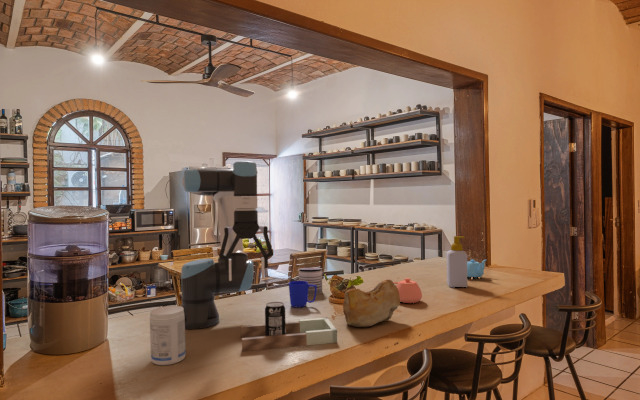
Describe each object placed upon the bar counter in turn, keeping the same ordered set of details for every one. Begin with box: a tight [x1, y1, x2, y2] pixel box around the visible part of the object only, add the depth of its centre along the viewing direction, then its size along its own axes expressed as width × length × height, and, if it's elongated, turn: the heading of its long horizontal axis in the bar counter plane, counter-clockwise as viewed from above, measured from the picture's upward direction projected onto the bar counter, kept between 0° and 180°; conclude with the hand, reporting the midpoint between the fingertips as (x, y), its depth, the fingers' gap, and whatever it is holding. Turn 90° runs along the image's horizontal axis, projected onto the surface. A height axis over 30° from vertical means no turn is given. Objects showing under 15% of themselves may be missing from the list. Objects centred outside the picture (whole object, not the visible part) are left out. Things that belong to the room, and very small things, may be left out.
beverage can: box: [264, 301, 286, 336], centre depth 139 cm, size 7×7×12 cm
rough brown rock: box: [342, 279, 401, 328], centre depth 160 cm, size 23×17×15 cm
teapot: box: [467, 259, 487, 278], centre depth 234 cm, size 13×13×10 cm
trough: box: [240, 320, 308, 352], centre depth 139 cm, size 20×14×4 cm
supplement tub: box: [149, 305, 187, 366], centre depth 124 cm, size 10×10×15 cm
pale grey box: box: [298, 317, 338, 346], centre depth 142 cm, size 10×14×4 cm
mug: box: [288, 280, 317, 308], centre depth 180 cm, size 8×12×10 cm
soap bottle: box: [446, 235, 468, 288], centre depth 214 cm, size 9×9×25 cm
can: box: [298, 267, 323, 296], centre depth 206 cm, size 11×11×12 cm
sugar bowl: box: [393, 277, 423, 304], centre depth 186 cm, size 12×14×10 cm
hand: (246, 279), depth 137 cm, fingers open, 10 cm apart
